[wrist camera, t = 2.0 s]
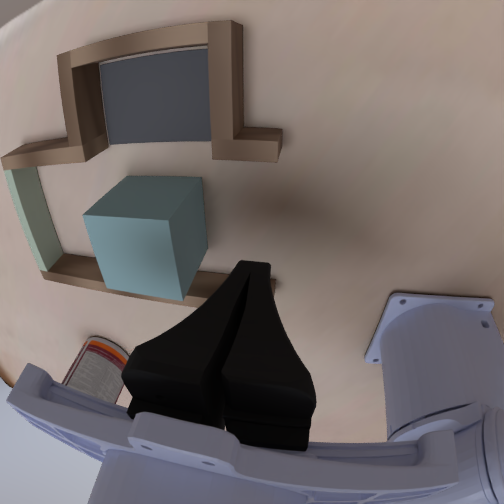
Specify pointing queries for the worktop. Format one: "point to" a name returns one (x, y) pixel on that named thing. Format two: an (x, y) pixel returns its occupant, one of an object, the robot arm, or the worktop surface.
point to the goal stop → (34, 215)
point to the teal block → (150, 234)
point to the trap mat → (158, 98)
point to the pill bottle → (98, 370)
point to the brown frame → (95, 138)
